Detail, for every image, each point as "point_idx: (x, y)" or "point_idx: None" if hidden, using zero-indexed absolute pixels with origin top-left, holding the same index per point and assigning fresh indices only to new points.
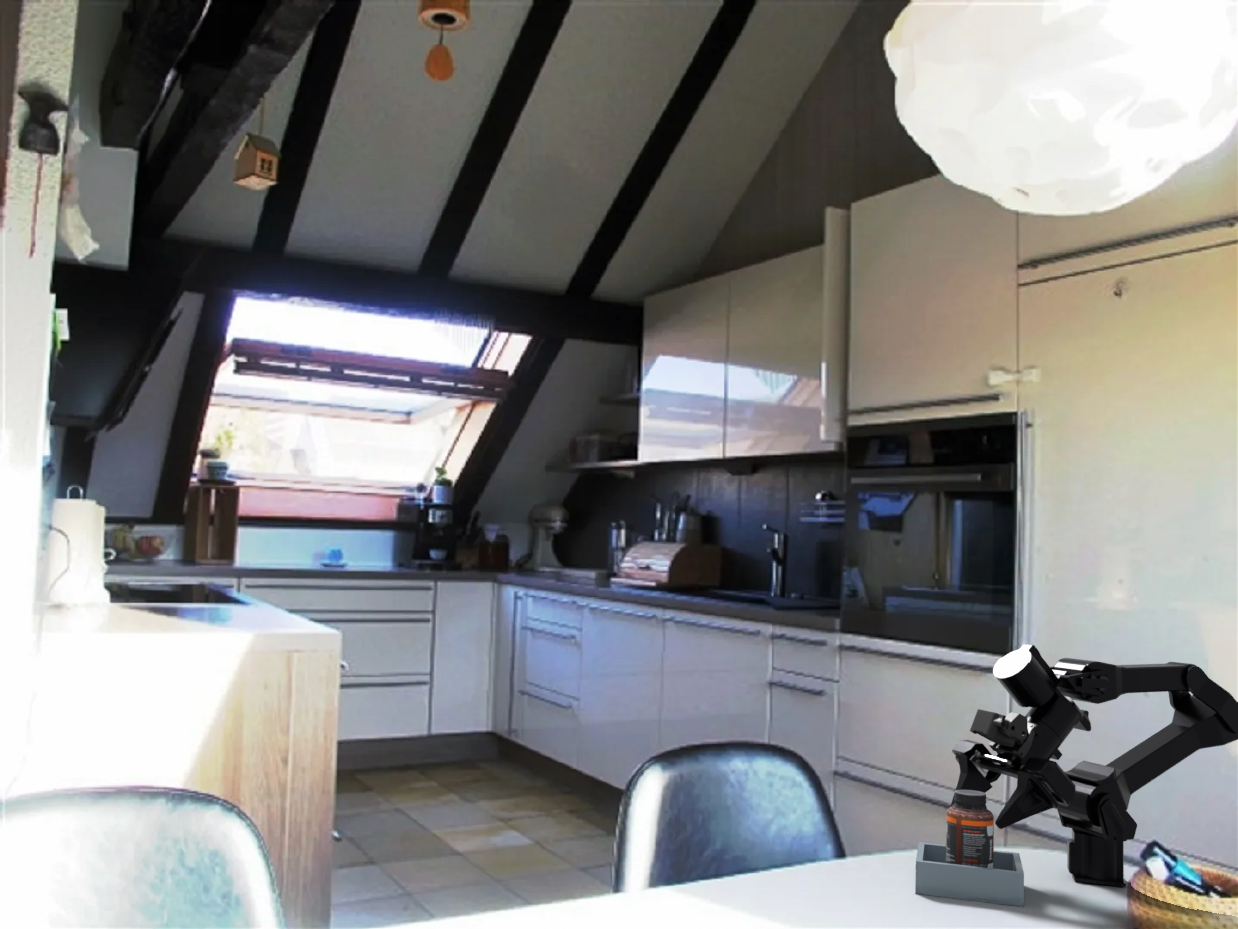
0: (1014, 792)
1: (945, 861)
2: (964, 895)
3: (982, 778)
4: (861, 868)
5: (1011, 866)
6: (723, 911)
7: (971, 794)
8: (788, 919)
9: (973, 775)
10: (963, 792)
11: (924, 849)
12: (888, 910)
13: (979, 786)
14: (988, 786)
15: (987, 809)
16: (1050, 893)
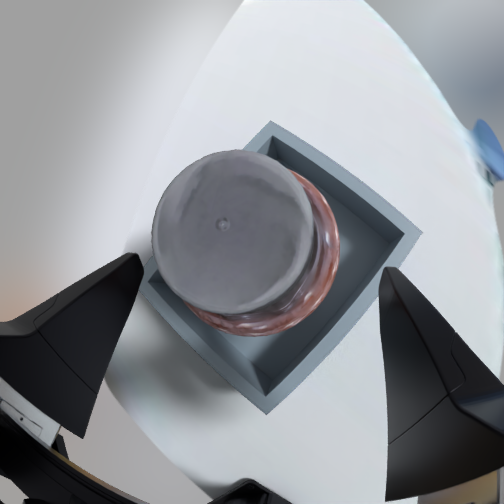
0: (43, 319)
1: (367, 276)
2: None
3: (413, 483)
4: (432, 160)
5: (272, 385)
6: None
7: (169, 185)
8: (234, 13)
9: (436, 441)
10: (224, 177)
11: (399, 235)
12: (222, 84)
13: (403, 446)
14: (391, 487)
15: (215, 313)
16: (212, 398)
